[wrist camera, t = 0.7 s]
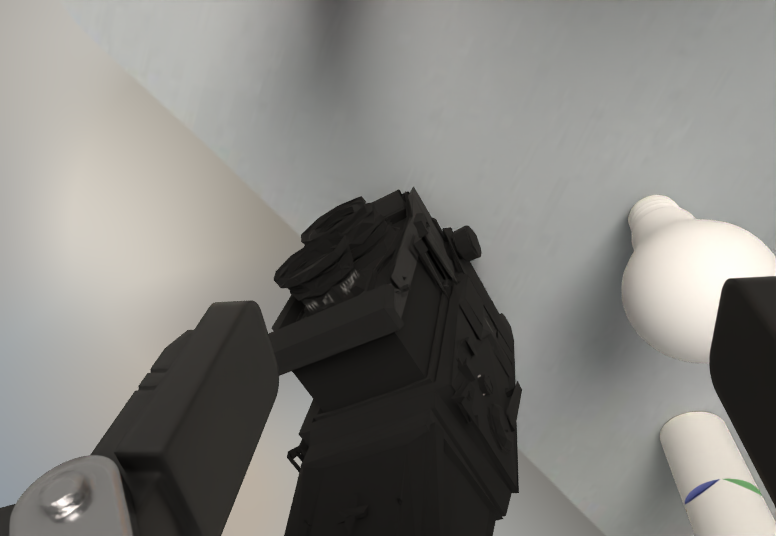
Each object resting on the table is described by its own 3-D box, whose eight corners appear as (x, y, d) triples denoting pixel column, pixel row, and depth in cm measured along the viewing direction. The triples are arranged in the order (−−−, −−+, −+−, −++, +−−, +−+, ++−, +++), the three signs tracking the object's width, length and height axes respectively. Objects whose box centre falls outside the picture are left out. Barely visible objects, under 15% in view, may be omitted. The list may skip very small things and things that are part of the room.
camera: (431, 141, 31) (339, 391, 14) (534, 331, 36) (564, 696, 18) (286, 216, 35) (70, 485, 17) (397, 379, 39) (314, 718, 22)
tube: (728, 451, 40) (850, 704, 27) (661, 458, 41) (750, 705, 28) (726, 407, 38) (859, 658, 25) (657, 416, 39) (750, 660, 26)
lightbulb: (735, 201, 30) (854, 328, 21) (644, 276, 33) (712, 417, 24) (653, 132, 29) (742, 236, 20) (566, 217, 32) (606, 342, 23)
